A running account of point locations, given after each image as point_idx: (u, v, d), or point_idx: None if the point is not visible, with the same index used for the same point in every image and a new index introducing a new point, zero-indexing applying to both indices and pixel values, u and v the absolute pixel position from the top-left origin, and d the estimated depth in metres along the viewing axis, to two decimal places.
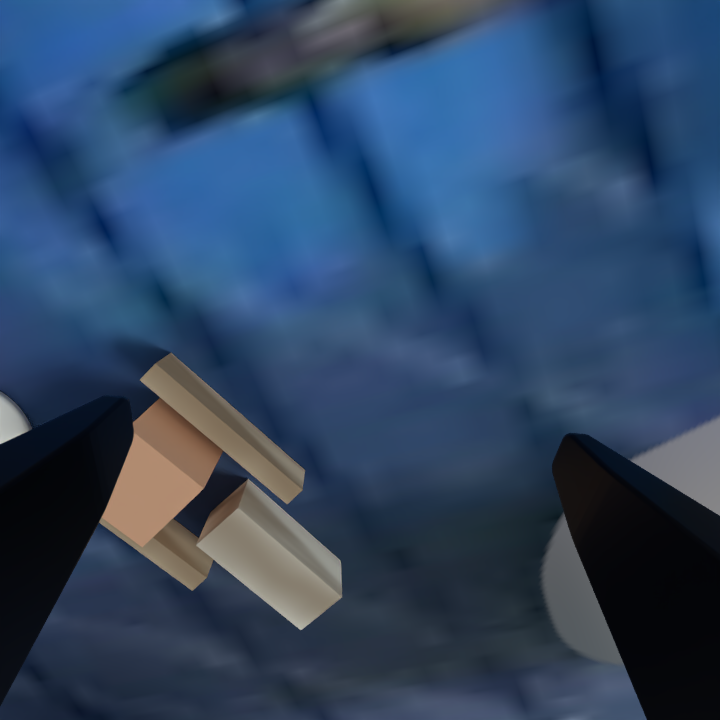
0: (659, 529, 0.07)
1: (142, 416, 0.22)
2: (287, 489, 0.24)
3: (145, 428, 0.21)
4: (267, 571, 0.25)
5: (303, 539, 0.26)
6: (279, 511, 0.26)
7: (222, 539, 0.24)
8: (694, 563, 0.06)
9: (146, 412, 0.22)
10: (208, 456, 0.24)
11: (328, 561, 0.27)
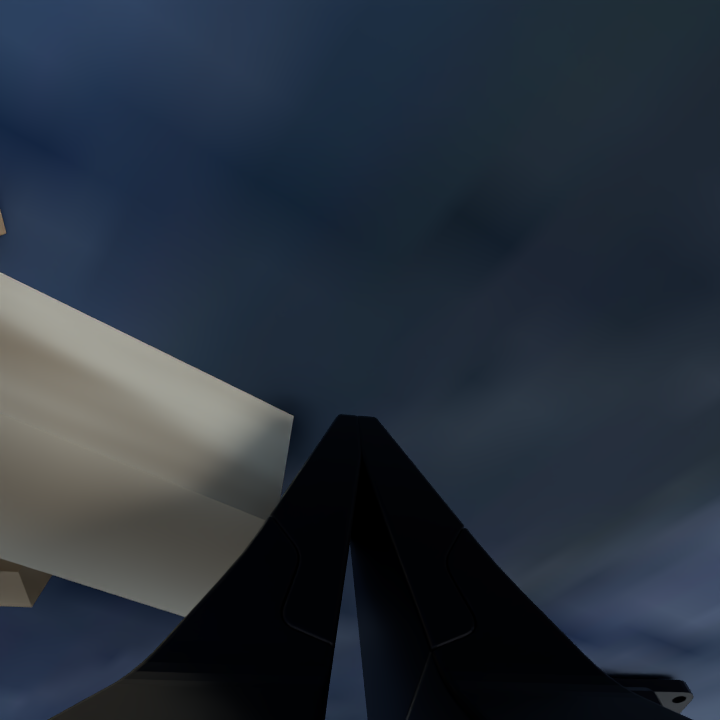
0: (374, 511, 0.07)
1: None
2: None
3: None
4: None
5: (134, 378, 0.08)
6: (33, 311, 0.08)
7: None
8: (384, 546, 0.06)
9: None
10: None
11: (238, 427, 0.09)
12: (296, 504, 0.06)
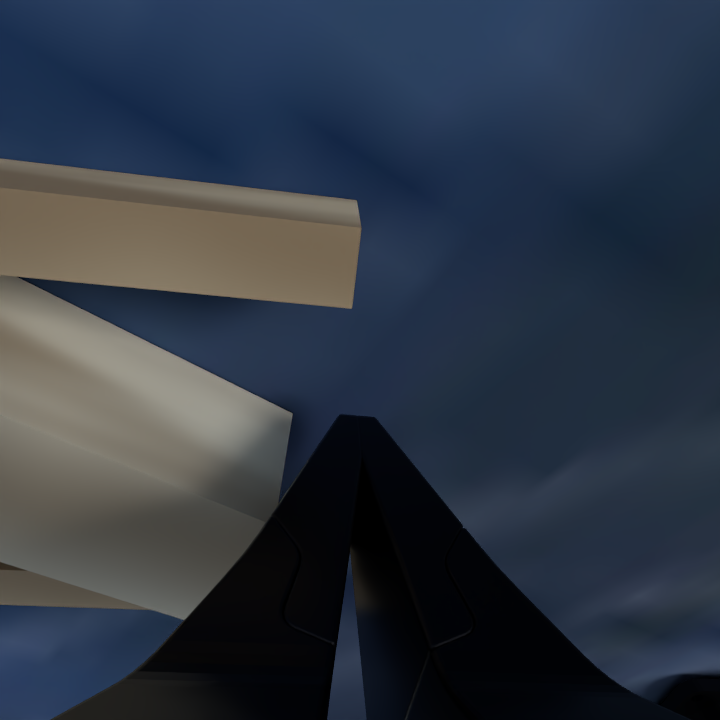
0: (373, 511, 0.07)
1: None
2: (314, 261, 0.06)
3: None
4: None
5: (130, 376, 0.08)
6: (27, 307, 0.08)
7: None
8: (383, 546, 0.06)
9: None
10: None
11: (236, 426, 0.09)
12: (297, 504, 0.06)
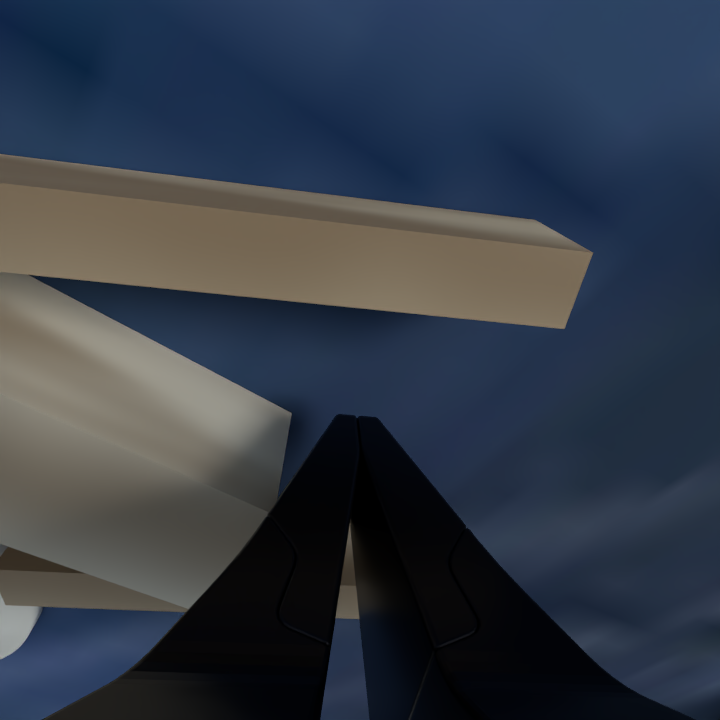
0: (376, 511, 0.07)
1: None
2: (540, 283, 0.07)
3: None
4: None
5: (135, 365, 0.08)
6: (36, 295, 0.08)
7: None
8: (386, 546, 0.06)
9: None
10: None
11: (238, 417, 0.09)
12: (293, 504, 0.06)
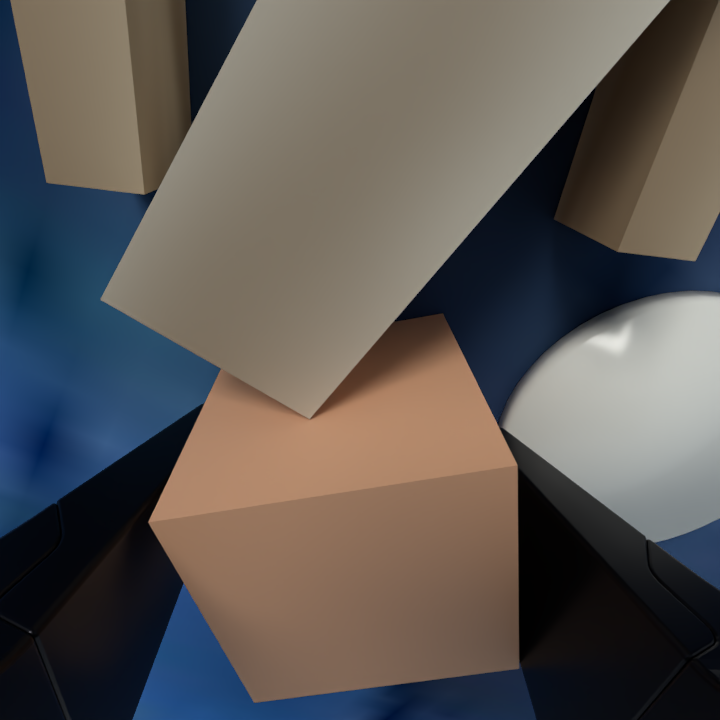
0: (546, 522, 0.07)
1: None
2: None
3: None
4: (394, 122, 0.05)
5: None
6: None
7: (263, 339, 0.06)
8: (571, 556, 0.06)
9: None
10: None
11: None
12: (92, 491, 0.06)
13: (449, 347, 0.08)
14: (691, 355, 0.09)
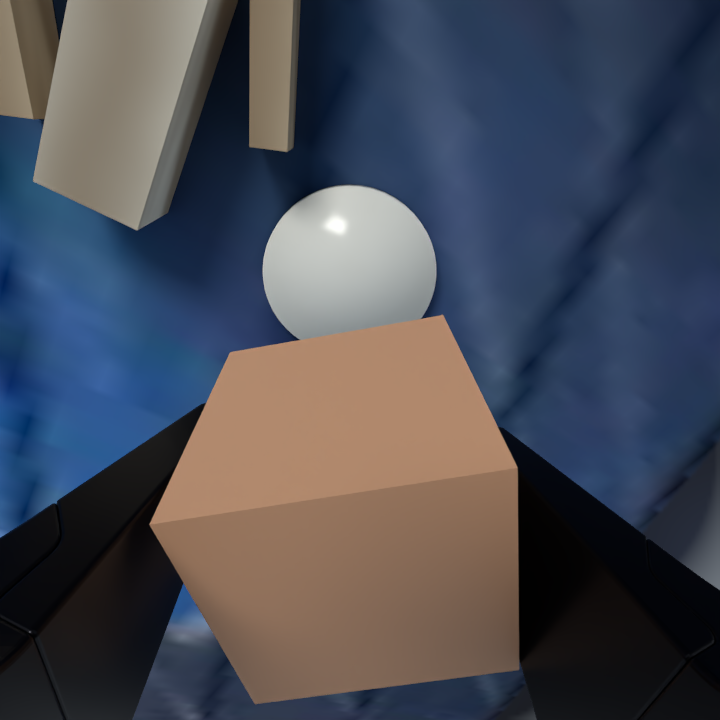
0: (546, 522, 0.07)
1: None
2: None
3: None
4: (120, 85, 0.13)
5: None
6: None
7: (103, 190, 0.14)
8: (571, 556, 0.06)
9: None
10: None
11: None
12: (91, 491, 0.06)
13: (449, 349, 0.08)
14: (348, 219, 0.17)
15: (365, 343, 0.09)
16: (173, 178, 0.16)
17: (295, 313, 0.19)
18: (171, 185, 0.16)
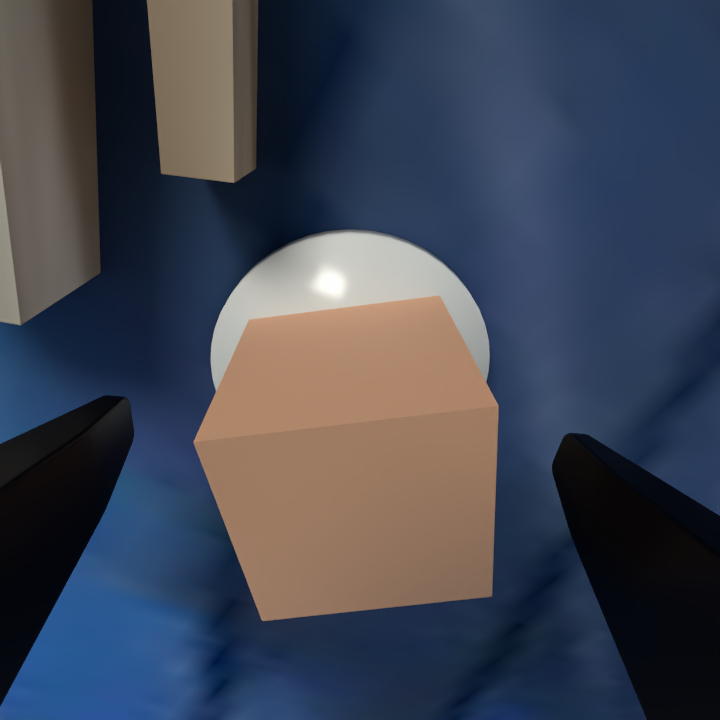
0: (659, 529, 0.07)
1: None
2: None
3: None
4: None
5: None
6: None
7: None
8: (694, 563, 0.06)
9: None
10: None
11: None
12: None
13: (445, 321, 0.09)
14: (349, 287, 0.10)
15: (371, 315, 0.10)
16: (81, 214, 0.09)
17: None
18: (82, 227, 0.09)
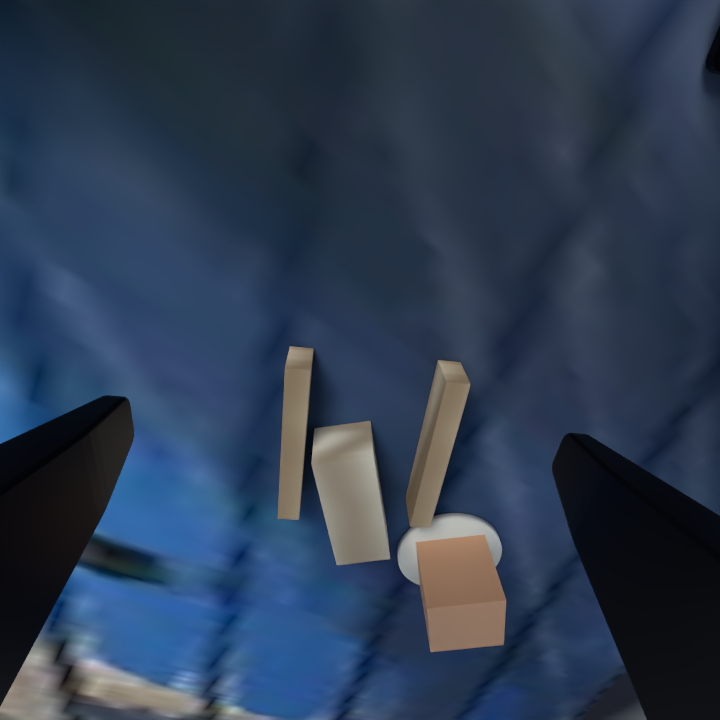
0: (659, 529, 0.07)
1: None
2: (295, 379, 0.21)
3: (427, 632, 0.28)
4: (356, 517, 0.25)
5: None
6: None
7: (367, 553, 0.26)
8: (694, 563, 0.06)
9: (425, 619, 0.29)
10: (420, 574, 0.28)
11: None
12: None
13: (488, 554, 0.28)
14: (453, 533, 0.29)
15: (461, 545, 0.29)
16: (384, 511, 0.28)
17: (414, 571, 0.31)
18: (384, 514, 0.28)
